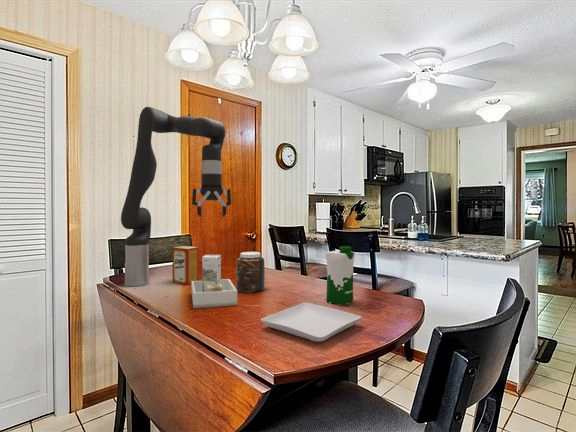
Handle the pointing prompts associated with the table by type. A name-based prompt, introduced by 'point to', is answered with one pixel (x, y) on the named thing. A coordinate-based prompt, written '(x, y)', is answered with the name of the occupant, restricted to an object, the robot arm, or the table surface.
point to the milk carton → (340, 275)
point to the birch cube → (214, 288)
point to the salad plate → (311, 321)
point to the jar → (250, 272)
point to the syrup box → (211, 270)
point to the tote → (213, 295)
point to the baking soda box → (185, 264)
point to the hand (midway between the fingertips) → (211, 216)
